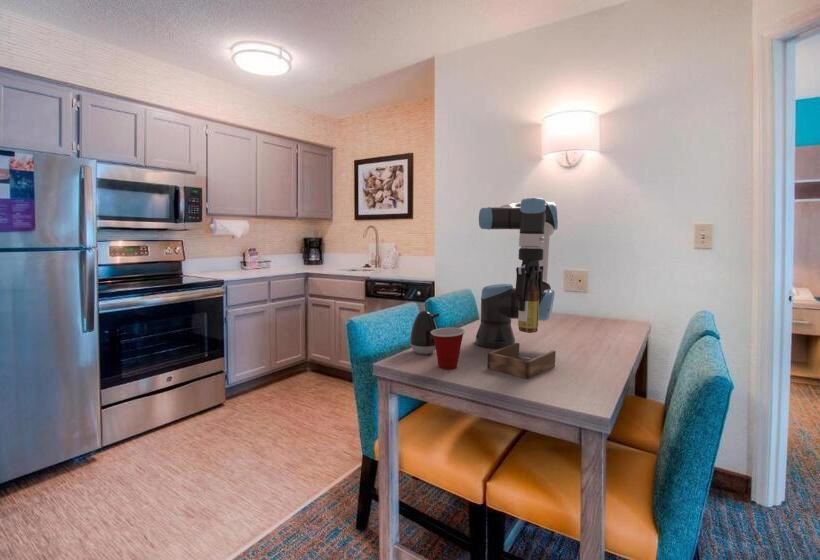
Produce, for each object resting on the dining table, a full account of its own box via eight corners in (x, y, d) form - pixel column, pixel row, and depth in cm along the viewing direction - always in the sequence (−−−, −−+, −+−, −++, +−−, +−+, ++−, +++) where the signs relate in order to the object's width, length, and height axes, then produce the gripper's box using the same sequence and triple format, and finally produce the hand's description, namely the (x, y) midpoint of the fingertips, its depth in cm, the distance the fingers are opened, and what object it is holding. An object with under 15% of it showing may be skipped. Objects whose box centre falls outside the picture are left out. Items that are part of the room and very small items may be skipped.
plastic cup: (428, 361, 139) (429, 326, 138) (460, 361, 140) (461, 326, 138) (431, 372, 128) (432, 333, 127) (466, 372, 129) (467, 334, 128)
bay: (487, 368, 133) (487, 352, 132) (516, 356, 146) (516, 342, 145) (527, 379, 123) (528, 362, 123) (554, 365, 136) (555, 350, 136)
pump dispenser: (439, 356, 145) (440, 313, 143) (409, 356, 145) (409, 313, 144) (438, 349, 155) (439, 308, 153) (410, 348, 155) (410, 308, 154)
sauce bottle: (524, 328, 140) (526, 269, 138) (541, 331, 136) (544, 270, 134) (513, 331, 135) (516, 269, 133) (531, 334, 131) (534, 271, 129)
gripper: (527, 248, 123) (523, 325, 126) (555, 247, 137) (552, 317, 139) (504, 247, 128) (501, 321, 131) (534, 247, 142) (531, 314, 145)
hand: (528, 319), depth 135 cm, fingers closed on sauce bottle, 6 cm apart
